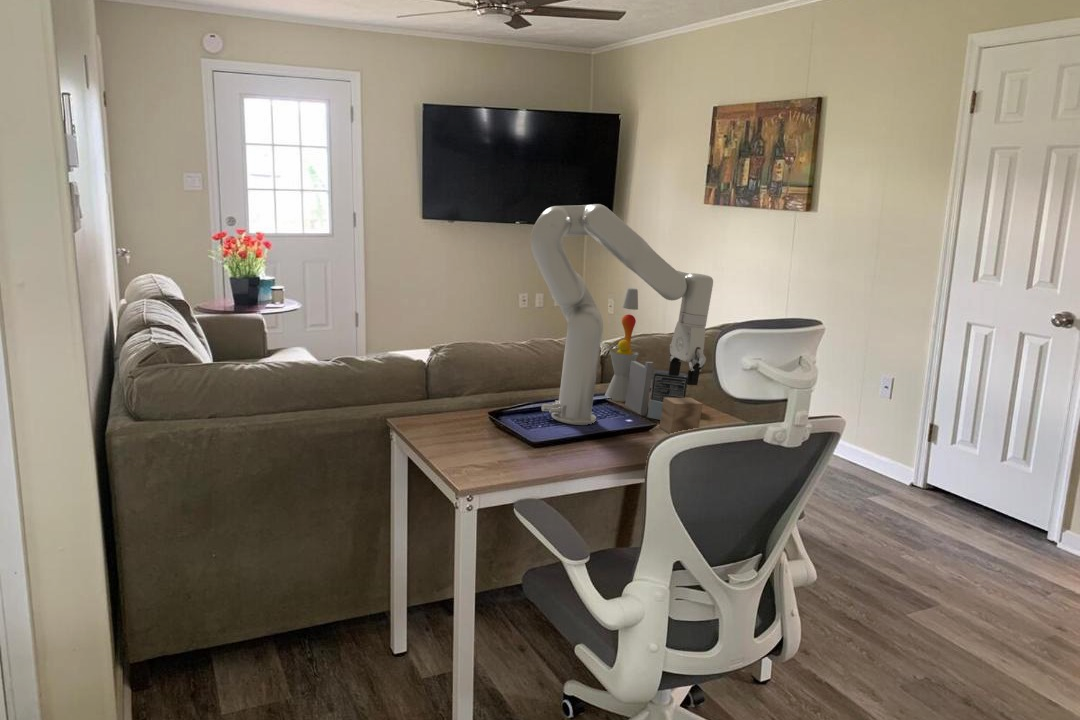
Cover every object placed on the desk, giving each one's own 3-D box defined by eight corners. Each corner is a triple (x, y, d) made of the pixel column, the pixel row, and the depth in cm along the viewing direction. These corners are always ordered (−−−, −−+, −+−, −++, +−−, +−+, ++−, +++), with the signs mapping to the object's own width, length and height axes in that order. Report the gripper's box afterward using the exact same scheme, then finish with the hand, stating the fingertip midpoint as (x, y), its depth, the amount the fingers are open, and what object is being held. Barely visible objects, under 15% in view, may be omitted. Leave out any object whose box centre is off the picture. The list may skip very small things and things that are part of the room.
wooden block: (670, 435, 223) (674, 403, 221) (659, 428, 229) (663, 397, 227) (697, 434, 227) (702, 403, 225) (686, 427, 232) (691, 397, 230)
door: (696, 428, 231) (699, 411, 230) (647, 417, 237) (649, 400, 236) (699, 426, 233) (701, 409, 232) (649, 415, 239) (652, 398, 238)
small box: (682, 404, 257) (687, 372, 255) (683, 410, 251) (688, 377, 249) (649, 400, 258) (653, 368, 256) (649, 405, 252) (654, 373, 250)
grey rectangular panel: (640, 415, 239) (647, 362, 236) (624, 405, 249) (631, 354, 245) (646, 415, 240) (653, 363, 237) (630, 405, 249) (637, 354, 246)
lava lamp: (609, 392, 263) (623, 285, 255) (635, 397, 259) (650, 289, 252) (600, 397, 255) (614, 287, 247) (627, 403, 251) (642, 291, 244)
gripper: (665, 312, 227) (655, 371, 231) (697, 325, 211) (687, 388, 215) (688, 314, 230) (678, 372, 233) (722, 326, 214) (710, 389, 218)
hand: (682, 380), depth 224 cm, fingers open, 9 cm apart
